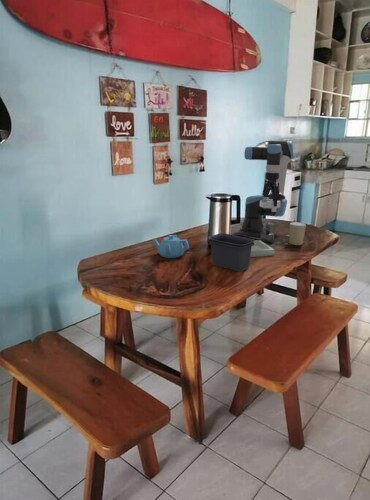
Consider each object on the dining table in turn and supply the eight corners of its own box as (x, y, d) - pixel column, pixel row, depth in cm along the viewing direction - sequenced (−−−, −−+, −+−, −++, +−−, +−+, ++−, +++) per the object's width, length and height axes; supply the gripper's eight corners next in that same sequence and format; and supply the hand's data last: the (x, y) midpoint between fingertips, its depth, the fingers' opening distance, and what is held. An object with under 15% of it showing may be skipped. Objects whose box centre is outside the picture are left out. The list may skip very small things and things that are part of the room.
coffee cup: (302, 241, 226) (304, 222, 223) (305, 245, 217) (307, 225, 214) (286, 240, 227) (288, 221, 223) (289, 245, 218) (291, 225, 215)
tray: (229, 247, 213) (229, 241, 212) (259, 245, 217) (260, 240, 216) (240, 257, 195) (241, 251, 194) (274, 255, 199) (274, 249, 198)
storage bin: (204, 264, 184) (205, 237, 179) (222, 257, 195) (223, 231, 190) (240, 275, 170) (242, 245, 166) (258, 267, 181) (260, 239, 177)
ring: (257, 205, 222) (257, 199, 221) (274, 204, 224) (274, 198, 223) (265, 208, 212) (265, 202, 211) (282, 208, 214) (283, 202, 213)
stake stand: (258, 240, 227) (259, 222, 224) (270, 239, 229) (271, 221, 226) (263, 244, 220) (265, 225, 216) (275, 243, 222) (277, 224, 218)
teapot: (166, 261, 188) (166, 240, 185) (151, 253, 200) (151, 234, 197) (190, 256, 196) (191, 236, 193) (175, 249, 208) (175, 230, 205)
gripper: (258, 170, 222) (255, 206, 229) (275, 174, 200) (272, 214, 207) (269, 170, 224) (267, 206, 230) (288, 174, 202) (284, 213, 208)
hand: (269, 209), depth 219 cm, fingers closed on ring, 11 cm apart
